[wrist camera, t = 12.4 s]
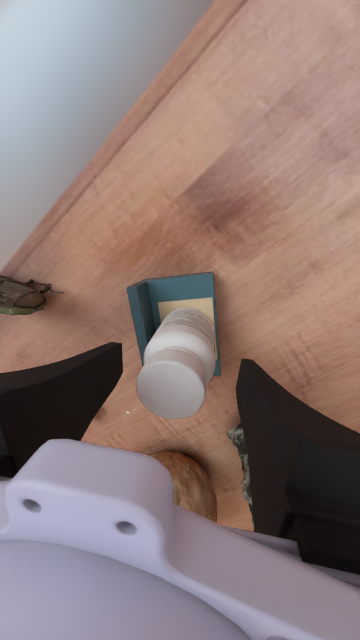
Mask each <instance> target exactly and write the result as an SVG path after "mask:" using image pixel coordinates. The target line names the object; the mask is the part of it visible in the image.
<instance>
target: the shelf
mask: <svg viewBox="0 0 360 640" xmlns="http://www.w3.org/2000/svg"><path fill="white" fill-rule="evenodd" d="M126 289H127V293H128V298H129V303H130V308H131V313H132V317H133V322H134V327H135V332H136V337H137V341H138V346H139V351H140V356H141V361H142V365H143V366H144V352H145V349H146V347H147V345H148V343H149V342H150V340H151V339H152V337H153V336H154V334H155V333H156V331H157V330H158V328H159V327H160V325H161V324H162V322H163V320H164V319H165V317H166V316H167V315H168V314H169V313H171V312H172V311H174V310H176V309H178V308H184V307H189V308H194V309H197V310H200V311H201V312H203V313H204V314H205V315H206V316H207V317H208V318H209V319H210V321H211V322H212V325H213V328H214V339H215V370H214V374H213V376H220V375H221V372H220V358H219V344H218V331H217V317H216V304H215V291H214V277H213V272H206V273H197V274H188V275H179V276H170V277H162V278H153V279H144V280H142V281H140V282H138V283H135V284H133V285H131V286H129V287H127V288H126Z"/></svg>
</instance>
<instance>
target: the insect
mask: <svg viewBox="0 0 360 640" xmlns="http://www.w3.org/2000/svg"><path fill="white" fill-rule="evenodd" d="M31 283H36V282H34V281H33V280H32V279H31V280H29V281H28V282H26V283H20V282H17V281H16V280H14V279H12V278H8V277H4V276H0V313H2V314H7V315H28V314H32V313H33V312H36V311H38V310H43V309H44V308H45V306H46V304H47V301H46V298H45V297H44V296H43V294H44V293H47V292H48V291H49V290H50V291H52V292H55V291H53V290H52V289H51V286H50V285H51V284H39V283H36V284H39V285H46V287H45V289H43V290H41V291H40V292H38V291H37V290H35V289H33V288H32V287H30V286H29V284H31ZM47 285H48V286H47ZM55 293H64V292H55Z"/></svg>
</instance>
